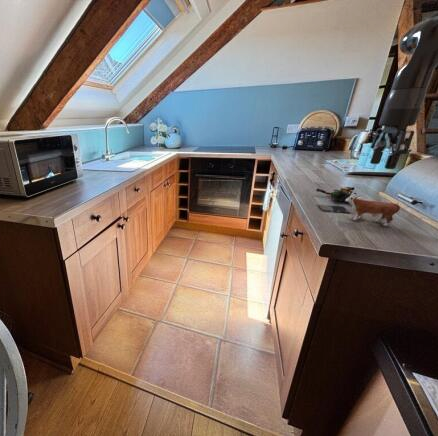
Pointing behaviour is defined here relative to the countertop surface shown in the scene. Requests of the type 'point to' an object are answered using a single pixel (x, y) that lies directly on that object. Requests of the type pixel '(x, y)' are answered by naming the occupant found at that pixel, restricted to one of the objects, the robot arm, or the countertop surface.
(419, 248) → the countertop surface
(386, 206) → the bull figurine
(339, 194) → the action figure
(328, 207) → the slate coaster
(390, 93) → the robot arm
